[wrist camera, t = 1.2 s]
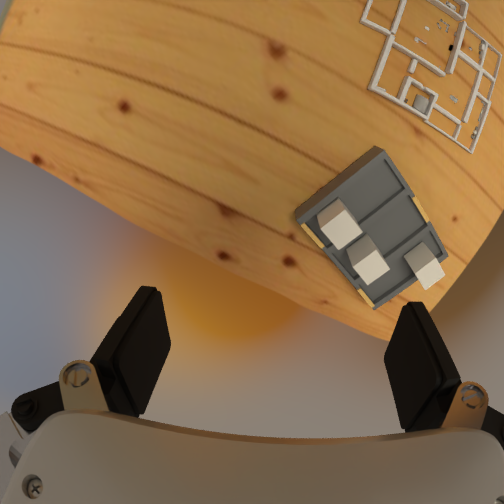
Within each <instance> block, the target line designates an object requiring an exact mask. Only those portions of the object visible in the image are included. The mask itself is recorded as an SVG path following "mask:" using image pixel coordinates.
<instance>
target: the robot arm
mask: <svg viewBox="0 0 504 504" xmlns="http://www.w3.org/2000/svg"><path fill="white" fill-rule="evenodd" d="M170 346H171V340H170V336H169V331H168V326H167V321H166V316H165V311H164V306H163V301H162V295H161V292H160V291H157V289H156V287H150V286H141V287H140V288H139V289H138V291H137V292H136V294H135V295H134V297H133V298H132V300H131V301H130V303H129V304H128V306H127V307H126V308H125V310H124V311H123V313H122V314H121V316H119V317H118V318H117V320H116V321H115V323H114V324H113V326H112V327H111V329H110V330H109V332H108V333H107V335H106V336H105V338H104V339H103V341H102V343H101V344H100V346H99V347H98V349H97V351H96V352H95V354H94V355H93V357H92V358H91V360H90V362H88V361H85V360H76V361H72V362H70V363H68V364H67V365H65V366H64V367H63V369H62V370H61V371H60V374H59V381H58V382H55V383H52V384H50V385H47V386H44V387H41V388H39V389H36V390H33V391H31V392H28V393H25V394H22V395H20V396H19V397H18V398H17V399H15V401H14V403H13V405H12V408H11V413H8V412H5V413H3V414H2V415H0V504H504V414H502V413H500V412H498V411H497V410H495V409H493V408H491V407H490V406H488V401H489V398H488V394H487V392H486V390H485V389H484V388H483V387H482V386H481V385H479V384H478V383H475V382H470V381H467V382H464V383H462V382H461V380H460V375H459V373H458V371H457V369H456V366H455V364H454V362H453V360H452V358H451V356H450V354H449V352H448V350H447V348H446V345H445V343H444V342H443V340H442V337H441V336H440V334H439V332H438V330H437V328H436V326H435V324H434V322H433V320H432V318H431V316H430V315H429V313H428V311H427V309H426V307H425V305H424V304H423V303H422V302H408V303H407V304H406V305H404V306H403V307H402V310H401V313H400V316H399V318H398V321H397V324H396V327H395V329H394V332H393V334H392V337H391V340H390V342H389V345H388V347H387V350H386V352H385V355H384V363H385V366H386V370H387V373H388V377H389V381H390V385H391V388H392V392H393V396H394V400H395V404H396V408H397V412H398V417H399V421H400V425H401V428H402V429H405V433H399V434H390V435H389V434H388V435H379V436H367V437H352V438H322V439H321V438H309V439H307V438H276V437H275V438H274V437H260V436H259V437H258V436H247V435H237V434H228V433H219V432H212V431H205V430H198V429H192V428H186V427H180V426H175V425H170V424H165V423H160V422H155V421H150V420H145V419H140V418H138V417H139V415H140V414H144V412H145V410H146V407H147V405H148V402H149V400H150V397H151V395H152V392H153V390H154V387H155V385H156V382H157V380H158V377H159V375H160V372H161V370H162V367H163V365H164V363H165V360H166V358H167V356H168V353H169V351H170Z"/></svg>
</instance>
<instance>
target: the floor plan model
mask: <svg viewBox="0 0 504 504" xmlns="http://www.w3.org/2000/svg"><path fill="white" fill-rule="evenodd" d="M372 1H373V0H368V1H367V4H366V6H365V9H364V12H363V14H362V17H361V20H360V22H359V23H361V24H364V25H366V26H368V27H370V28H372V29H374V30H376V31H378V32H380V33H382V34H384V35H386V36H387V38H386V41H385V44H384V47H383V49H382V52H381V55H380V57H379V60H378V63H377V65H376V68H375V71H374V73H373V76H372V78H371V81H370V83H369V86H368V90H370V91H373V92H375V93H377V94H379V95H381V96H383V97H385V98H387V99H389V100H390V101H392V102H394V103H396V104H398V105H399V106H401V107H403V108H405V109H406V110H408V111H410V112H412V113H413V114H415V115H417V116H418V117H420V118H422V119H423V122H425V123H427V124H428V125H430V126H431V127H433V128H434V129H436V130H438V131H439V132H441V133H442V134H444V135H445V136H447V137H448V138H449V139H451V140H452V141H454V142H455V143H457V144H458V145H459V146H461V147H462V148H464V149H465V150H466V151H468V152H469V153H471V154H473V151H474V149H475V146H476V144H477V141H478V139H479V136H480V134H481V131H482V128H483V126H484V123H485V120H486V117H487V114H488V111H489V108H490V105H491V101H490V98H491V95H492V91H493V88H494V85H495V81H496V77H497V74H498V70H499V66H500V62H501V58H502V54H500V53H499V52H498V51H497V50H496V49H495V48H494V47H493V46H492V45H490V44H489V43H488V42H487V41H486V40H484V39H483V38H482V37H481V36H479V35H478V34H477V33H476V32H475V31H473V30H472V29H471V28H469V27H468V26H467V23H466V22H465V21H463V22H460V23H459V26H458V30H457V33H456V32H455V34H454V36H455V35H456V37H455V40H454V44H453V45H450V48H449V50H450V51H451V50H452V51H451V54H450V57H449V60H448V63H447V66H446V69H445V72H443V71H442V70H440V69H439V68H437V67H436V66H434V65H433V64H431V63H430V62H428V61H427V60H425V59H423V58H422V57H420V56H419V55H417V54H415V53H414V52H412V51H410V50H408V49H407V48H405V47H403V46H401V45H400V44H398V43H396V42H394V39H395V36H393V35H395V34H396V31H397V29H398V26H399V23H400V20H401V17H402V14H403V11H404V8H405V5H406V2H407V0H400V3H399V6H398V9H397V12H396V15H395V18H394V21H393V24H392V26H391V29H390V31H389V30H387V29H385V28H383V27H381V26H379V25H377V24H375V23H373V22H371V21H369V20H367V19H366V17H367V15H368V12H369V9H370V7H371V4H372ZM427 1H428V2H430V3H431V4H433V5H434V6H436V7H438V8H439V9H441V10H442V11H444V12H445V13H447V14H448V15H449V16H451V17H452V18H454V19H455V20H457V21H461V20H464V19H466V15H467V10H468V6H469V3H467V2H466V1H465V0H453V1H455V2H456V3H458V4H459V5H460V6H461V8H460V12H459V14H458V13H456V12H455V11H454V10H456V8H455V7H456V6H455V7H454V5H453V4H451V3H449V2H448V1H446V5H448V6H449V7H450V8H449V7H448V6H446V5H445V4H443V3H442V2H440V1H439V0H427ZM452 9H453V10H452ZM440 21H441V22H443V21H442V19H440ZM443 23H444V24H446V23H445V22H443ZM437 25H438V26H439V23H437ZM446 25H447V27H446V30H445V31H446V32H448V31H447V30H448V27H449V26H450V25H449V24H446ZM425 29H426V30H428V31H429V28H428V27H427V26H425ZM439 29H441V27H440V26H439ZM465 29H467V30H469V31H470V32H471V33H472V34H474V35H475V36H476V37H477V38H479V39H480V40H481V44H480V46H479V50H481V51H479V54H480V56H479V58H480V60H479V64H477V63H476V62H475V61H474V60H472V59H471V58H470V57H469V56H467V55H466V54H465V53H463V52H462V51H461V50H460V48H461V44H462V40H463V37H464V33H465ZM418 40H419V41H420V42H422V43H424V44H426V43H425V42H423V41H422V40H420V39H419V38H417V37H415V38H414V41H416V42H418ZM391 47H394V48H396V49H398V50H399V51H401V52H403V53H404V54H406V55H408V56H409V57H411V58H413V59H411V62H410V65H409V68H408V70H407V72H409V73H411V74H413V73H414V71H415V68H416V65H417V62H419V63H420V64H422V65H423V66H425V67H426V68H428V69H429V70H431V71H432V72H434V73H435V74H437V75H438V76H440V77H445V75H446V73H447V74H453V71H454V67H455V64H456V61H457V58H458V57H459V58H461V59H462V60H463V61H465V62H466V63H467V64H468V65H470V66H471V67H472V68H474V69H475V70H476V71H477V74H476V77H475V80H474V84H473V87H472V90H471V93H470V96H469V99H468V102H467V105H466V107H465V110H464V113H463V116H462V119H461V121H463V122H464V123H467V122H468V119H469V116H470V113H471V110H472V108H473V105H474V102H475V99H476V96H477V97H478V98H480V99H481V102H482V103H483V104H484V105H483V106H484V107H483V108H482V111H481V113H480V116H479V119H478V121H479V125H478V127H475V130H473V132H472V133H474V134H475V135H474V134H472V135H471V138H472V139H473V141H472V143H471V146H470V148H469V149H468V148H466V147H465V146H464V145H462V144H461V143H459V142H458V141H457V140H456V139H457V137H458V134H459V132H460V129H461V127H462V126H461V125H460V123H461V121H460V120H459V119H457V118H456V117H455V116H453V115H452V114H450V113H449V112H447V111H446V110H445V109H443V108H442V107H440V106H439V105H437V104H436V103H435V102H436V101H437V98H438V96H439V95H438V94H437V93H435V92H434V91H432V90H431V89H429V88H428V87H424V86H422V85H423V84H421V83H420V82H418V81H417V80H415V79H413V78H411V77H410V76H406V77H404V80H403V82H402V85H401V87H400V90H399V92H398V95H397V98H395V97H393V96H391V95H389V94H388V93H386V90H385V89H383V88H381V87H378V86H377V84H378V81H379V79H380V76H381V74H382V71H383V68H384V66H385V63H386V60H387V58H388V55H389V52H390V50H391ZM487 47H490V48H491V51H494V52H495V53H496V54H497V55H499V56H498V60H497V64H496V68H495V72H494V75H493V77H492V76H491V75H490V74H489V73H488V72H487V71H485V70H484V69H483V68H482V66H483V63H484V59H485V55H486V51H487ZM469 49H470V50H471V51H472V48H470V47H469ZM439 67H440V66H439ZM482 75H484V76H485V77H487V78H488V79H489V80H490V81H491V86H490V89H489V92H488V96H487V99H486V98H485V97H483V96H482V95H481V94H480V92H478V88H479V85H480V82H481V78H482ZM411 84H412V85H414V86H416V87H417V88H419V89H421V90H422V91H424V92H425V93H427V94H429V95H430V98H429V100H428V99H427V98H425V97H423V96H421V95H418V94H417V95H416V98H415V101H414V103H413V106H412V107H411V106H409V105H407V104H406V103H407V101H408V100H407V99H406V98H405V97H406V94H407V92H408V89H409V86H410V85H411ZM452 94H453V93H452ZM456 97H457V96H456ZM405 99H406V102H405ZM450 99H451V100H453V101H454V102H456V103H457V101H458V99H456V98H455V97H454V96H452V95H450ZM404 102H405V103H404ZM485 103H486V104H485ZM454 104H455V103H454ZM433 108H434V109H436V110H437V111H439V112H440V113H442V114H443V115H445V116H446V117H447V118H449V119H450V120H452V121H453V122H455V123H456V124H457V126H456V128H455V131H454V134H453V136H452V137H451V136H450V135H448V134H447V133H445V132H444V131H442V130H441V129H439V128H438V127H436V126H435V125H433V124H432V123H430V122H429V121H427V120H428V119H429V116H430V114H431V111H432V109H433Z"/></svg>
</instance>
